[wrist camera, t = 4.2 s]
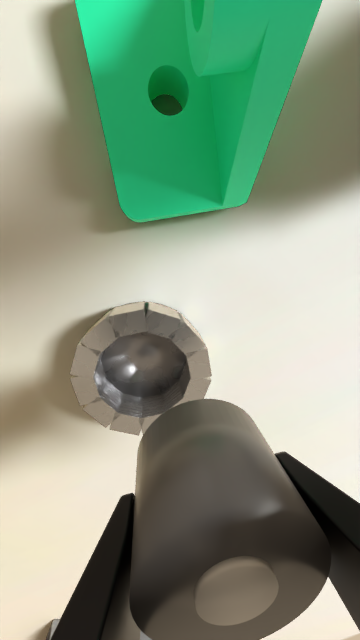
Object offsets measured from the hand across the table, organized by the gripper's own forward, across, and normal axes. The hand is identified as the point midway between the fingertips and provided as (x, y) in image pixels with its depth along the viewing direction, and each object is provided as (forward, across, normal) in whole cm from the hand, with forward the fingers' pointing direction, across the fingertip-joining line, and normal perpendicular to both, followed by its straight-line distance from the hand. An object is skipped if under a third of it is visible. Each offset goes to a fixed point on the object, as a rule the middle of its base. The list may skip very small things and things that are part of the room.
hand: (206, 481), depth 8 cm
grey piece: (+12, +2, 0) cm, 12 cm away
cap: (+1, 0, 0) cm, 1 cm away
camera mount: (+12, -3, -16) cm, 20 cm away
